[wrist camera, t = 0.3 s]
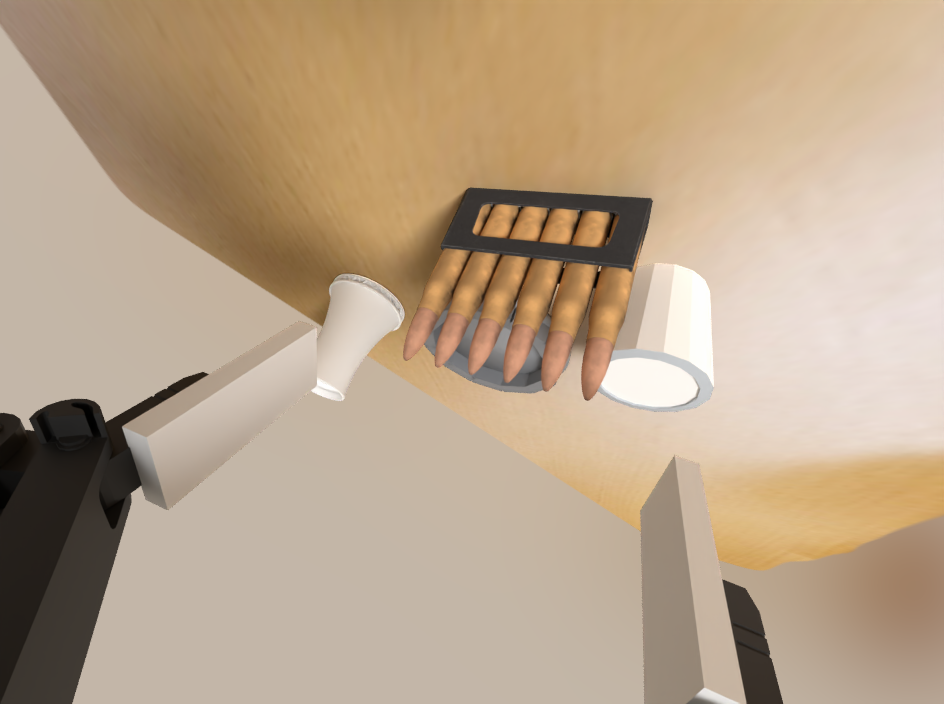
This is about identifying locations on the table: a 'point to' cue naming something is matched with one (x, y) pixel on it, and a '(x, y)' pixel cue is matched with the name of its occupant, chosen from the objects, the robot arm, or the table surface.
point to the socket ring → (496, 356)
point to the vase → (352, 330)
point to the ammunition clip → (534, 278)
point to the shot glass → (663, 343)
